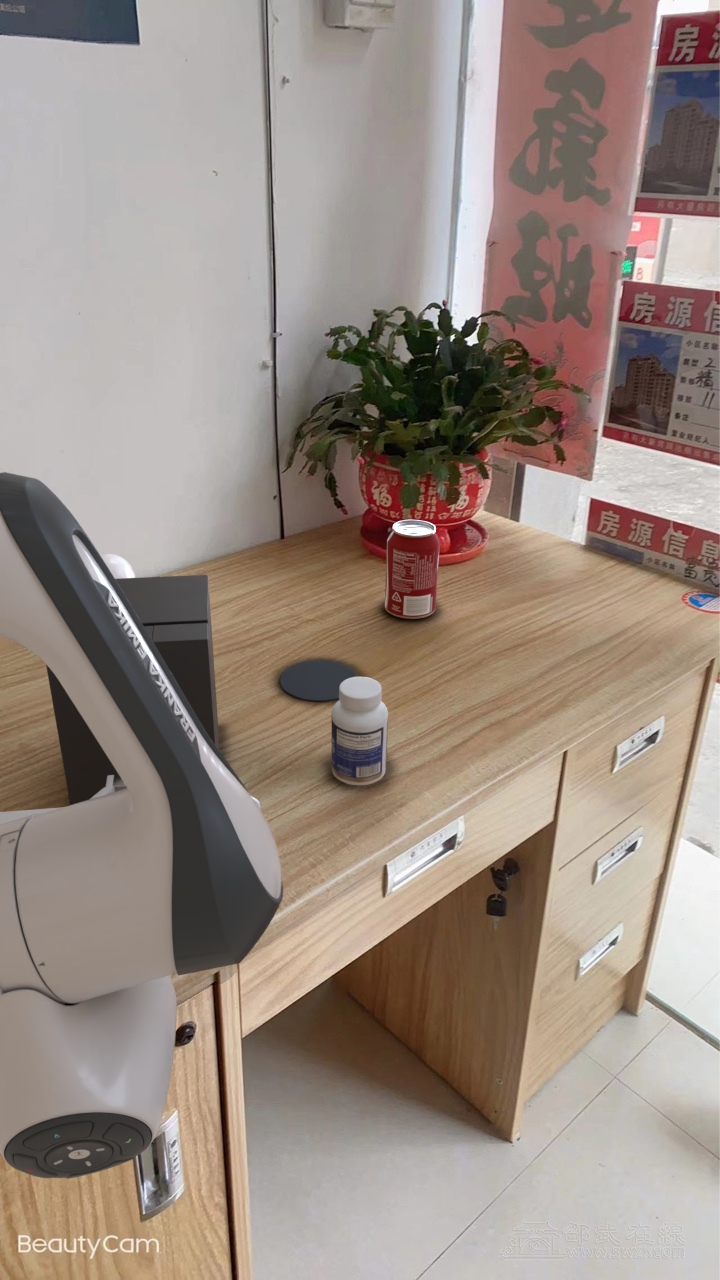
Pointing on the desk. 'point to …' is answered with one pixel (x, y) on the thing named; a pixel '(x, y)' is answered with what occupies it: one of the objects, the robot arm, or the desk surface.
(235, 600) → the desk surface
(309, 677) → the coaster
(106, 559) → the lightbulb
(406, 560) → the soda can
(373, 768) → the pill bottle
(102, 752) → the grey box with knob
